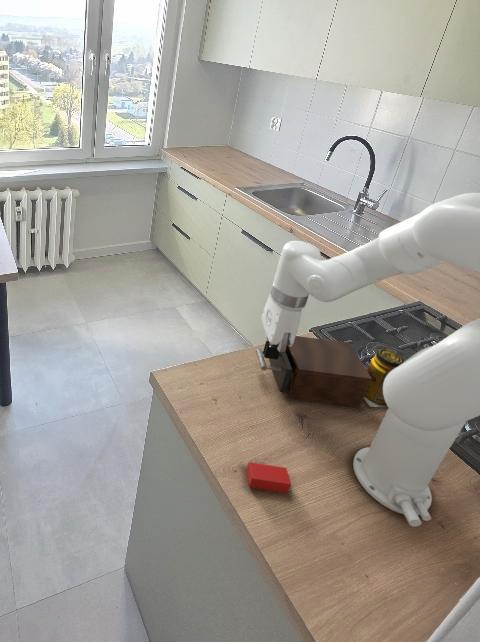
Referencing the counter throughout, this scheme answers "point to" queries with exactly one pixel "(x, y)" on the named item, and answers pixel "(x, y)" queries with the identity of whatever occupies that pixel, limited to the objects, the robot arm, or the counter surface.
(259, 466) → the red rectangular block
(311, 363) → the cabinet
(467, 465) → the counter surface
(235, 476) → the counter surface
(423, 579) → the counter surface
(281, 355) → the drawer
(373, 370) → the condiment
